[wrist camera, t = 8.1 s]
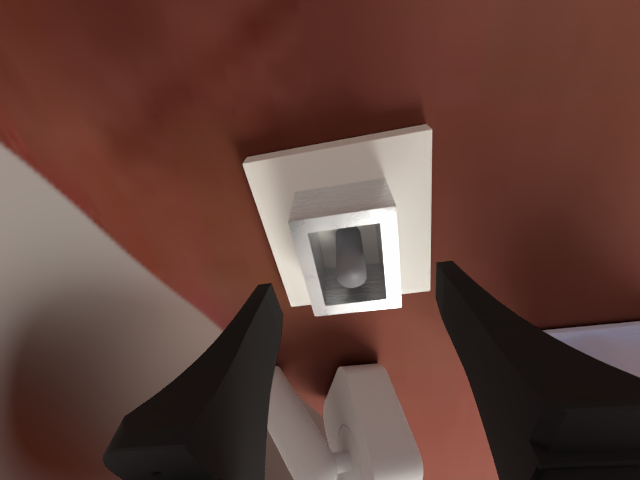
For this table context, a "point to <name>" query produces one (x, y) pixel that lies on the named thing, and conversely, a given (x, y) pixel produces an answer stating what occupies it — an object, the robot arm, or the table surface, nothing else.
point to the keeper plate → (342, 168)
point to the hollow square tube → (341, 212)
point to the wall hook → (345, 429)
